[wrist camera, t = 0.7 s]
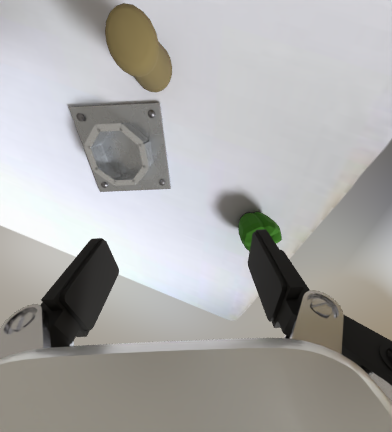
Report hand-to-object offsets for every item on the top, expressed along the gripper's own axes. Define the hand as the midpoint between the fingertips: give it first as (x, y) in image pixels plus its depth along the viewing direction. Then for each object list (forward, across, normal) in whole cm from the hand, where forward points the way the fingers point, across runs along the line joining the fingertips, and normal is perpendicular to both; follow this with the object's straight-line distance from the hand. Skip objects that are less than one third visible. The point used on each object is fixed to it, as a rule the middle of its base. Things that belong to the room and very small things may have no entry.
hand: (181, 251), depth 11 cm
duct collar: (+25, +12, -2) cm, 28 cm away
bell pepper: (+25, -14, +15) cm, 33 cm away
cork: (+26, +4, -14) cm, 30 cm away
